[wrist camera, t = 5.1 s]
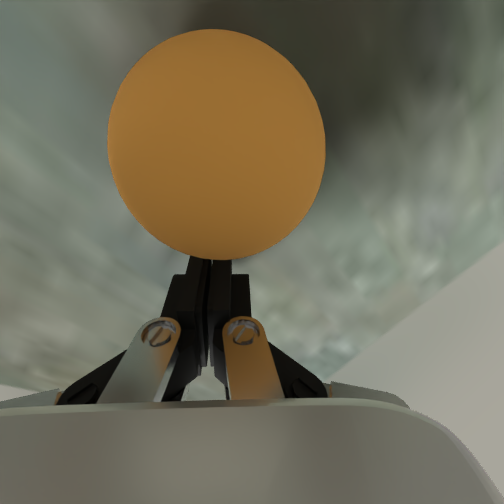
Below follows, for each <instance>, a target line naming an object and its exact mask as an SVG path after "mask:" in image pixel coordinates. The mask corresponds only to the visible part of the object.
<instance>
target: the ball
mask: <svg viewBox="0 0 504 504" xmlns="http://www.w3.org/2000/svg"><path fill="white" fill-rule="evenodd" d="M107 147H108V157H109V163H110V167H111V171H112V175H113V178H114V181H115V184H116V186H117V189H118V191H119V193H120V196H121V197H122V199H123V201H124V203H125V204H126V206H127V208H128V209H129V210H130V212H131V213H132V214H133V216H134V217H135V218H136V220H137V221H138V222H139V223H140V224H141V225H142V226H143V227H144V228H145V229H146V230H147V231H148V232H149V233H150V234H152V235H153V236H154V237H156V238H157V239H158V240H159V241H161V242H163V243H164V244H166V245H168V246H170V247H171V248H173V249H175V250H178V251H180V252H182V253H185V254H187V255H191V256H195V257H198V258H203V259H212V260H230V259H239V258H243V257H247V256H251V255H254V254H257V253H259V252H261V251H264V250H266V249H268V248H270V247H271V246H273V245H275V244H277V243H278V242H279V241H281V240H282V239H283V238H285V237H286V236H287V235H288V234H289V233H290V232H291V231H292V230H293V229H294V228H295V227H297V225H298V224H299V223H300V222H301V220H302V219H303V218H304V216H305V215H306V214H307V212H308V211H309V209H310V207H311V205H312V204H313V202H314V200H315V197H316V195H317V192H318V190H319V187H320V184H321V180H322V176H323V172H324V166H325V157H326V152H325V132H324V127H323V121H322V118H321V114H320V111H319V108H318V105H317V102H316V100H315V98H314V96H313V94H312V92H311V91H310V89H309V87H308V85H307V83H306V81H305V80H304V79H303V77H302V76H301V75H300V74H299V72H298V71H297V70H296V69H295V67H294V66H293V65H292V64H291V63H290V62H289V61H288V60H287V59H286V58H285V57H284V56H282V55H281V54H280V53H278V52H277V51H276V50H274V49H273V48H271V47H270V46H269V45H267V44H265V43H263V42H262V41H260V40H258V39H256V38H253V37H251V36H248V35H245V34H242V33H238V32H234V31H228V30H221V29H203V30H196V31H191V32H187V33H183V34H180V35H177V36H174V37H171V38H169V39H167V40H165V41H164V42H162V43H160V44H159V45H157V46H155V47H154V48H152V49H151V50H150V51H148V52H147V53H146V54H145V55H144V56H143V57H142V58H141V59H140V60H139V61H138V62H137V63H136V64H135V65H134V66H133V67H132V69H131V70H130V71H129V73H128V74H127V76H126V77H125V79H124V80H123V82H122V84H121V85H120V87H119V90H118V92H117V95H116V97H115V100H114V103H113V105H112V108H111V113H110V118H109V122H108V140H107Z"/></svg>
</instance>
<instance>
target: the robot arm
mask: <svg viewBox="0 0 504 504" xmlns="http://www.w3.org/2000/svg"><path fill="white" fill-rule="evenodd" d="M209 349H210V362H211V366H214V373H215V377H216V378H217V379H219V380H220V381H221V382H222V383H223V384H224V391H225V399H226V400H206V401H186V397H187V394H188V391H189V383H190V382H191V381H192V380H193V379H195V378H196V377H197V376H201V369H202V367H206V366H207V360H208V350H209ZM0 504H504V498H503V496H502V495H501V493H500V492H499V490H498V489H497V487H496V486H495V484H494V483H493V481H492V480H491V478H490V477H489V476H488V474H487V473H486V472H485V470H484V469H483V467H482V466H481V465H480V463H479V462H478V461H477V459H476V458H475V457H474V455H473V454H472V453H471V452H470V451H469V449H468V448H467V447H466V446H465V445H464V444H463V443H462V441H461V440H460V439H459V438H458V437H457V436H456V435H455V434H454V433H453V432H451V431H450V430H449V429H448V428H447V427H445V426H444V425H442V424H441V423H439V422H438V421H436V420H433V419H432V418H430V417H428V416H426V415H424V414H422V413H419V412H417V411H414V410H411V409H410V408H409V406H408V405H407V404H406V403H405V402H404V401H403V400H402V399H400V398H399V397H397V396H396V395H394V394H391V393H388V392H383V391H378V390H373V389H368V388H363V387H358V386H352V385H347V384H342V383H337V382H332V381H331V384H326V383H322V381H321V380H319V379H318V378H317V377H316V376H315V375H314V374H312V373H311V372H309V371H308V370H307V369H305V368H304V367H303V366H301V365H300V364H299V363H297V362H296V361H294V360H293V359H292V358H290V357H289V356H288V355H286V354H285V353H283V352H282V351H281V350H279V349H278V348H277V347H275V346H274V345H272V344H271V343H270V342H268V341H267V338H266V334H265V331H264V328H263V326H262V324H261V323H260V322H259V321H258V320H256V319H254V318H252V317H251V302H250V286H249V274H232V259H230V260H213V263H212V261H211V259H203V258H198V257H195V256H191V255H190V259H189V263H188V266H187V270H186V274H175V275H174V276H173V278H172V281H171V284H170V287H169V291H168V294H167V297H166V300H165V303H164V307H163V310H162V313H161V316H160V317H159V318H155V319H152V320H150V321H148V322H146V323H145V324H144V325H142V326H141V328H140V329H139V330H138V332H137V334H136V335H135V337H134V339H133V340H132V342H131V344H130V346H129V347H128V349H127V350H125V351H124V352H122V353H121V354H119V355H117V356H116V357H114V358H113V359H111V360H109V361H108V362H106V363H105V364H103V365H102V366H100V367H98V368H97V369H95V370H94V371H92V372H90V373H89V374H87V375H86V376H84V377H83V378H81V379H79V380H78V381H76V382H75V383H73V384H72V385H71V386H69V387H68V388H67V389H66V390H65V391H60V390H59V389H54V390H50V391H45V392H41V393H37V394H32V395H28V396H23V397H19V398H14V399H10V400H6V401H1V402H0Z"/></svg>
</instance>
